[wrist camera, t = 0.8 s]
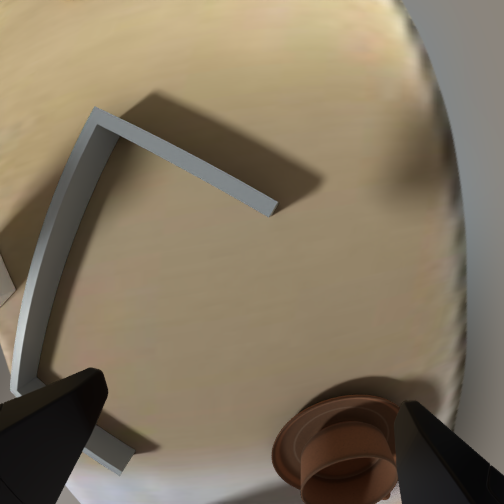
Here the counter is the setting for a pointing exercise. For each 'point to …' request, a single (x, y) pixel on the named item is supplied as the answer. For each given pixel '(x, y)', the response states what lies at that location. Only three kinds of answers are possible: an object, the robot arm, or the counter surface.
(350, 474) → the cup and saucer
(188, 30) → the counter surface
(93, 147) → the u-shaped low fence
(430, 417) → the robot arm
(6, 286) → the milk
